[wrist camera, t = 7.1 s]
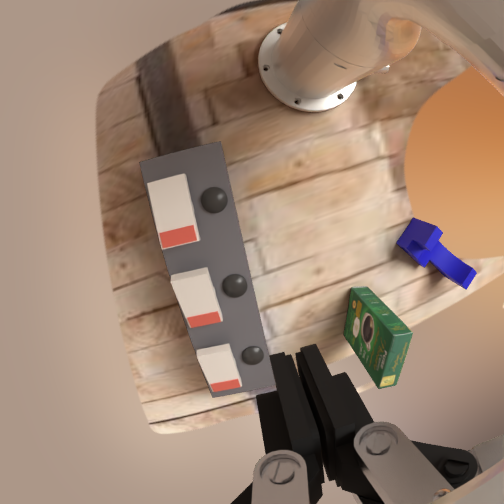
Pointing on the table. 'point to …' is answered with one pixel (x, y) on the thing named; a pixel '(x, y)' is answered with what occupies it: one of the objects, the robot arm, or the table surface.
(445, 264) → the blue piece
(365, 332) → the coffee box
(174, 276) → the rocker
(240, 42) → the table surface
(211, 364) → the rocker
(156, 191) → the rocker
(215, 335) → the rocker switch panel
